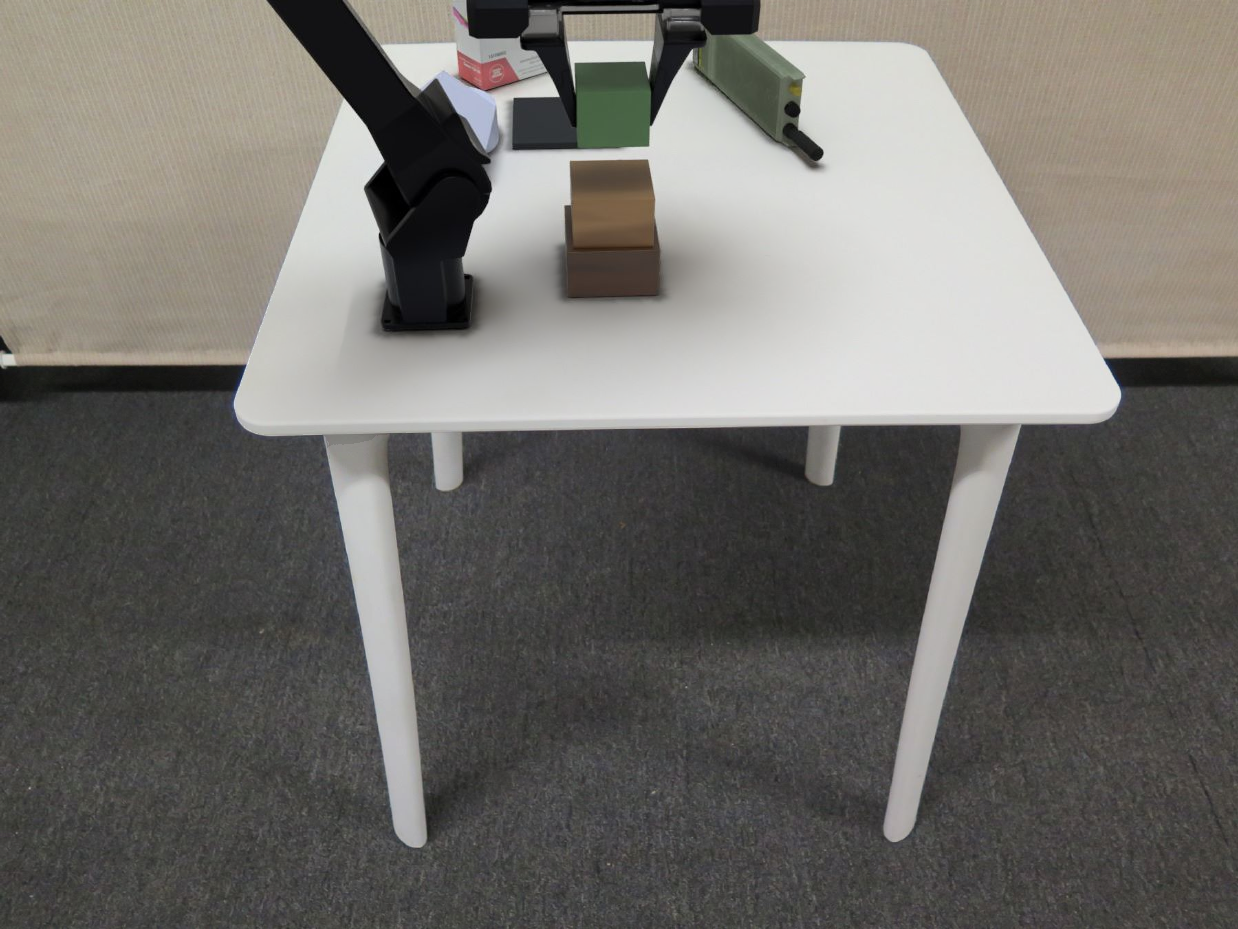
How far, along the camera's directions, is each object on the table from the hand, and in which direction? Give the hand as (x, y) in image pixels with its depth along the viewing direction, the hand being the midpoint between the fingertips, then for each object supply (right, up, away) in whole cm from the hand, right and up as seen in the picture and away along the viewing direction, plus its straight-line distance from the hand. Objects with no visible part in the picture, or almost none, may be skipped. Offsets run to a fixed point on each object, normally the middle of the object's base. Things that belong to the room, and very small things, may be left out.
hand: (612, 124), depth 72 cm
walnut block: (0, -9, +8) cm, 12 cm away
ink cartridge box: (-12, +17, +35) cm, 41 cm away
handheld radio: (+14, +11, +29) cm, 34 cm away
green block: (0, 0, 0) cm, 0 cm away
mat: (-5, +9, +27) cm, 29 cm away
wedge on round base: (-15, +5, +23) cm, 28 cm away
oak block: (0, -6, +5) cm, 8 cm away
